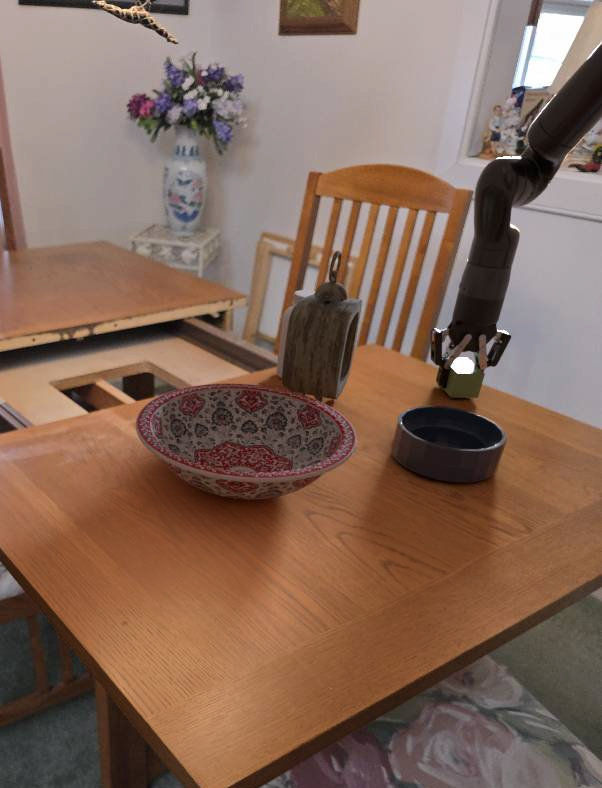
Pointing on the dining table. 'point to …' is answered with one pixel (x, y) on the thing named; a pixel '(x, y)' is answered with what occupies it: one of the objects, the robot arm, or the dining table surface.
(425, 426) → the bowl
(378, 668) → the dining table surface
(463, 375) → the block
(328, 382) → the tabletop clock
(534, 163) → the robot arm
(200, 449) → the ceramic bowl
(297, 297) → the pill bottle
